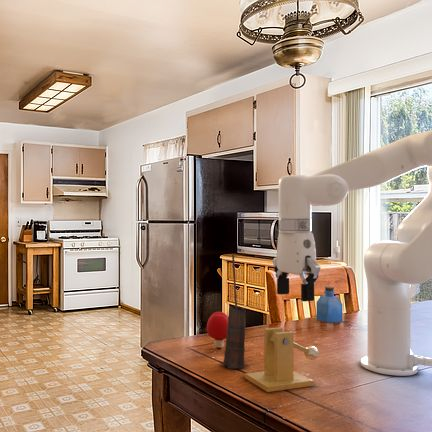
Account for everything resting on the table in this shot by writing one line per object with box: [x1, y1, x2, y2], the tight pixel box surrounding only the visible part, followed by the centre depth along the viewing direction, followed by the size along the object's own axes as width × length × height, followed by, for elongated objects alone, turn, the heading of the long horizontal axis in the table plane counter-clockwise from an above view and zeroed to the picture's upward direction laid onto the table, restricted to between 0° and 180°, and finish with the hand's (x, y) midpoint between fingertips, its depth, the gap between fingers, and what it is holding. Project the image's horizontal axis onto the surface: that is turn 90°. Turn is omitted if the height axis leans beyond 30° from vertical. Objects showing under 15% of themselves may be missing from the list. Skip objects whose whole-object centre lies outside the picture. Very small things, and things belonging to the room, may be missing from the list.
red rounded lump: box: [206, 311, 228, 350], centre depth 134 cm, size 9×7×10 cm
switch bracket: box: [244, 326, 314, 393], centre depth 107 cm, size 12×9×12 cm
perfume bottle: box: [315, 285, 343, 324], centre depth 170 cm, size 6×6×12 cm
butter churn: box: [223, 254, 247, 370], centre depth 118 cm, size 9×10×28 cm
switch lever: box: [270, 330, 320, 361], centre depth 109 cm, size 13×3×3 cm, turn 109°
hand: (294, 297), depth 114 cm, fingers open, 9 cm apart
